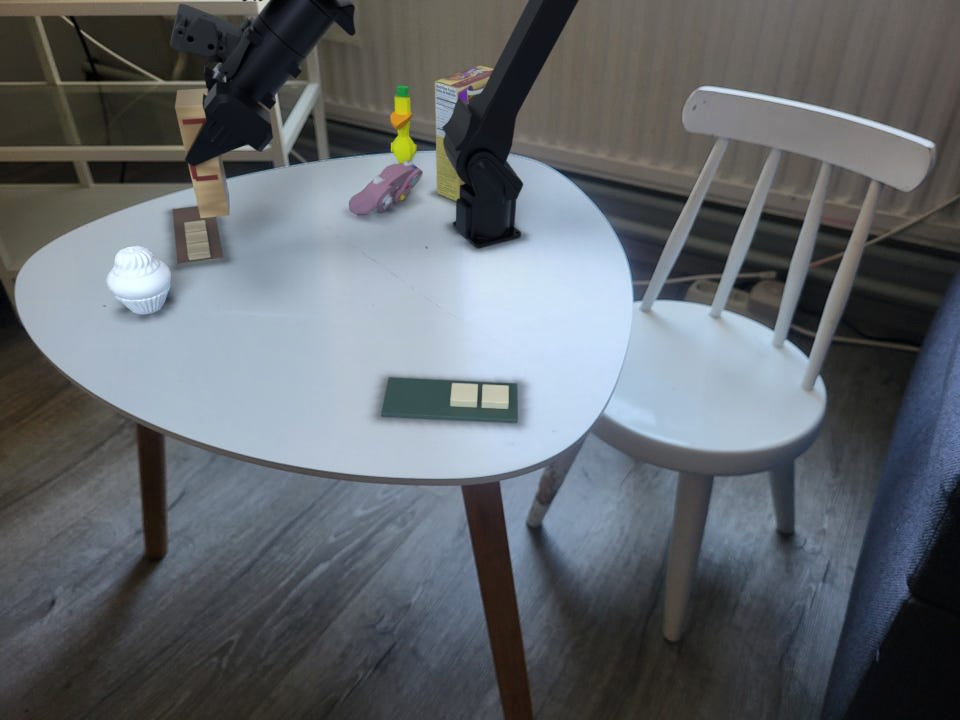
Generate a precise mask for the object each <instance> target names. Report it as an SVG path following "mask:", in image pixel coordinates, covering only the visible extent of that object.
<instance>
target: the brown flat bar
mask: <svg viewBox="0 0 960 720" xmlns="http://www.w3.org/2000/svg"><path fill="white" fill-rule="evenodd" d="M172 221H173V222H172V223H173V232H174V242H175V253H176V255H175V256H176V264H177V265H181V264H188V263H195V262H196V263H197V262H203V261H209V260H217V259H223V258H224V254H223V248H222V244H221V237H220V231H219V227H218V220H217V217H208V218H200V213H199V209H198V205H195V206H187V207H179V208H172Z"/></svg>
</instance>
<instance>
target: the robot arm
mask: <svg viewBox="0 0 960 720" xmlns="http://www.w3.org/2000/svg"><path fill="white" fill-rule="evenodd" d="M241 1H242V2H244V3H245V2H246V1H248V0H241ZM253 1H254V2H256V1H257V0H253ZM579 1H580V0H528V1H527V3H526V5H525V7H524V9H523V11H522V13H521V15H520V17H519V19H518V21H517V22H516V25H514V28H513V30H512V33H511V34H510V37H509V38H508V39H507V42H506V44H505V46H504V48H503V50H502V52H501V54H500V56H499V58H498V59H497V62H496V64H495V66H494V68H492V69H493V71H492V73H491V75H490V77H489V79H488V81H487V83H486V85H485V87H484V89H483V91H482V92H481V93H480V94H479V95H478V96H477V97H476V98H475V99H474V100H472V101H471V102H470V103H469V104H467V103H466V102H464V101H463V100H462V99H458V100H457V102H456V104H455V107H454V110H453V113H452V116H451V118H450V119H449V121H448V122H447V123H446V124H445V125H444V126H443V127H442V129H443V131H444V132H445V137H444V140H443V146H444V150H445V153H446V155H447V157H448V159H449V161H450V162H451V164H452V166H453V168H454V169H455V171H456V173H457V175H458V176H459V177H460V179H461V180H462V181H463V182H465V184H463V185H460V198H458V199H457V200H456V201H455V221H453V222H452V228H454V230H455V231H457V232H458V233H459V234H460V235H462V236H463V237H464V238H465V239H466V240H467V241H468V242H469V243H470V244H471V245H472V246H474V247H475V248H478V249H481V248H483V247H484V248H485V247H488V246H491V245H495V244H499V243H503V242H507V241H511V240H514V239H519V238H521V237H522V232H521V231H520V230H519V229H518V228H517V227H516V226H515V224H516V223H515V222H516V210H517V199H518V198H519V196H520V193H521V191H522V189H523V187H524V183H523V181H522V180H521V178H520V176H518V174H517V172H516V171H515V170H514V169H513V167H512V166H511V165H510V163H509V162H508V158H509V155H510V152H511V150H512V146H513V142H514V135H515V130H516V129H515V127H516V121H517V117H518V114H519V112H520V111H521V108H522V106H523V105H524V103H525V101H526V99H527V97H528V95H529V93H530V91H531V89H532V88H533V86H534V84H535V82H536V81H537V79H538V77H539V75H540V73H541V71H542V70H543V68H544V66H545V64H546V62H547V60H548V58H549V57H550V55H551V53H552V51H553V49H554V47H555V45H556V44H557V41H558V40H559V38H560V36H561V34H562V33H563V31H564V29H565V27H566V25H567V23H568V21H569V20H570V17H571V16H572V14H573V12H574V10H575V8H576V7H577V5H578V3H579ZM258 2H263V0H258ZM355 10H356V6H355V4H354V3H353V1H352V0H268V2H267V3H266V4H265V5H264V7H263V8H262V9H261V11H259V13H258V15H256V17H255V18H254V17H253V16H251V17H250V18H248V17H245V19H244V20H243V22H242V23H241V24H240V25H239V26H238V25H236V24H233V23H231V22H229V21H227V20H225V19H223V18H221V17H218V16H216V15H213V14H211V13H209V12H206V11H204V10H202V9H198V8H196V7H194V6H191V5H188V4H186V3H178V7H177V11H176V15H175V19H174V24H173V28H172V31H171V36H170V40H169V41H170V42H169V45H170V47H171V48H172V49H174V50H176V51H178V52H180V53H184V54H186V53H188V54H189V53H190V54H191V55H194V56H198V57H200V58H202V59H204V60H206V61H207V62H208V63H210V64H213V63H217V64H216V65H215V66H214V68H211V67H210V66H208V65H204V69H203V77H204V82H205V87H206V88H208V91H209V93H208V95H207V96H206V95H205V94H203V100H202V106H203V109H204V112H205V116H206V118H205V120H204V122H203V124H202V126H201V128H200V130H199V132H198V133H197V135H196V137H195V139H194V141H193V143H192V145H191V147H190V149H189V151H188V153H187V155H186V154H185V157H184V161H185V162H186V163H187V164H188V163H189V164H190V165H192V166H196V165H198V164H201V163H203V162H205V161H208V160H210V159H212V158H215V157H217V156H219V155H221V156H222V155H224V154H226V153H229V152H231V151H234V150H237V149H240V148H242V147H245V146H249V147H250V148H252V149H253V150H255V151H256V152H261V153H262V152H263V151H264V150H265V148H266V147H267V146H268V145H269V143H270V142H271V141H272V140H273V139H274V133H273V127H272V120H271V119H272V118H271V114H270V111H271V110H272V108H273V107H274V106H275V105H276V103H277V99H276V95H277V94H278V93H279V91H280V90H281V89H282V88H283V87H284V85H285V84H287V82H288V81H289V79H290V78H291V77H293V78H294V79H297V78H298V77H299V76H300V75H301V73H302V72H303V70H302V66H301V65H302V63H303V62H304V61H305V60H306V59H307V57H309V55H310V54H311V52H312V51H313V50H314V49H315V48H316V47H317V45H318V44H319V43H320V42H321V40H322V39H323V38H324V37H325V35H327V33H328V32H329V30H331V28H332V27H333V26H334V24H337V26H338V27H340V28H341V29H342V30H343V31H344V32H345V33H346V34H347V35H349V36H351V37H353V36H355V34H356V33H357V32H356V28H355V26H356V25H355V18H354V17H355ZM206 88H205V89H206ZM260 103H261V104H260ZM262 105H263V106H262ZM269 110H270V111H269Z"/></svg>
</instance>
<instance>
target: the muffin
mask: <svg viewBox="0 0 960 720" xmlns="http://www.w3.org/2000/svg"><path fill="white" fill-rule="evenodd" d="M114 257H115V258H114V259H113V260H114V264H113V266H112V269H110V271H109V273H108V274H107V276H106V285H107V288H108V290H109V291H110V292H111V294H113V296H114V297H115V298H116V300H118V301H119V302H120V303H122V304H123V305H124V306H125V307H126V308H128V309H129V310H130V311H131V312H132V313H134V314H136V315H142V316H143V315H145V316H146V315H150V314H153V313H156V312H159V311H160V310H161V309H162V308H163V305H165V303H166V300H167V297H168V294H169V291H170V288H171V281H172V272H171V269H170V267H169V266H168V264H166V262H164V261H162V260H161V259H158V258H157V257H155V256H154V255H153V253H152V251H151V250H150V249H149V248H147V247H144V246H142V245H131V246H128V247H123V248H122V249H120V250H119V251H118V252H117V253H116V254H115V256H114Z"/></svg>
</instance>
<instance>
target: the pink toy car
mask: <svg viewBox="0 0 960 720" xmlns="http://www.w3.org/2000/svg"><path fill="white" fill-rule="evenodd" d="M422 176H423V170H422V169H420V168H419V167H418V166H417V165H416V164H414V163H411V162H408V160H406V161H405V162H404V163H402V164H399V163H393V164H390V165H387V166H386V167H385V168H384V169H383V170H382V171H381V172H380V173H379V174H378V175H377V176H375V177H374V178H373V179H372V180H370V182H368V184H367V185H366V186H365V187H364V188H363V189H362V190H360V191H359V192H357V193H356V194H354V195H353V196H351V198H350V199H349V201H348V209H349V211H350V212H351V213H354V214H356V215H366V214H368V213H370V212H372V211H374V210H375V209H377V211H379V212H380V213H385V211H387V210H388V209H389V208H390V206H391V205H392V203H393V202H394V203H395V204H399V203H400V202H402V201H405V198H406V196H407V195H408V193H409V192H410V191H411V190H413V188H414V187H415V186H416V185H417V184H418V183H419V181H420V180H421V178H422Z"/></svg>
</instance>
